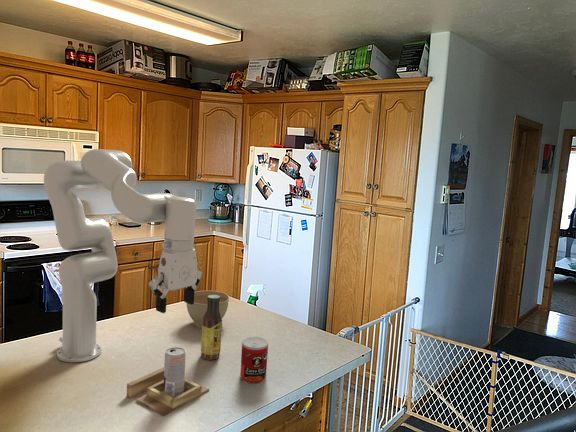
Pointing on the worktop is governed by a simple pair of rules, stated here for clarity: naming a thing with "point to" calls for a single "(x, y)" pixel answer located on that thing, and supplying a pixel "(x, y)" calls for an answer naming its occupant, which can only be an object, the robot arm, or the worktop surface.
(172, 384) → the energy drink
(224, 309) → the planter bowl
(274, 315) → the worktop surface
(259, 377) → the canned food
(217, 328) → the sauce bottle
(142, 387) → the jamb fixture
